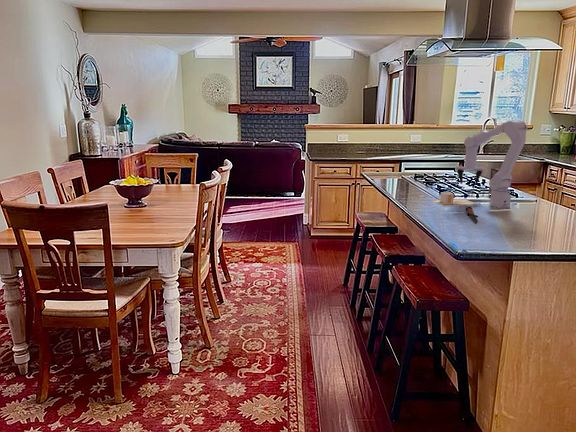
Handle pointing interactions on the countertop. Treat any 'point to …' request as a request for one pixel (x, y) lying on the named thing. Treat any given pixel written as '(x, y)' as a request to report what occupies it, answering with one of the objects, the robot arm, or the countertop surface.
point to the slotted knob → (446, 197)
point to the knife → (471, 214)
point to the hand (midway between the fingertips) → (468, 184)
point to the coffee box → (493, 172)
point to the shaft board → (455, 202)
